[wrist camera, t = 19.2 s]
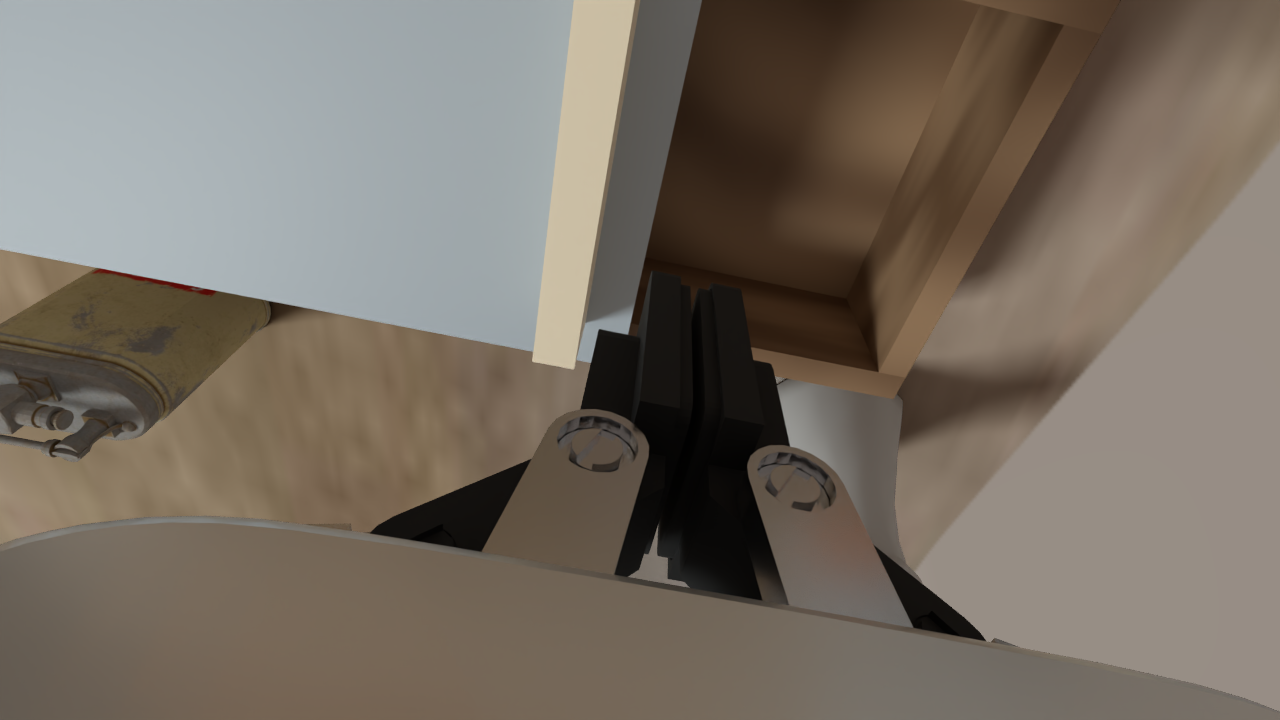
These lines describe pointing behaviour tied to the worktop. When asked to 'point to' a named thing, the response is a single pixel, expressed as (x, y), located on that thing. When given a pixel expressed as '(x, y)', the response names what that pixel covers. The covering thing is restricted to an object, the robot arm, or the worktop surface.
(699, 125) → the wooden box
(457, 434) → the worktop surface
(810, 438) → the flask
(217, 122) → the lid
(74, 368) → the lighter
